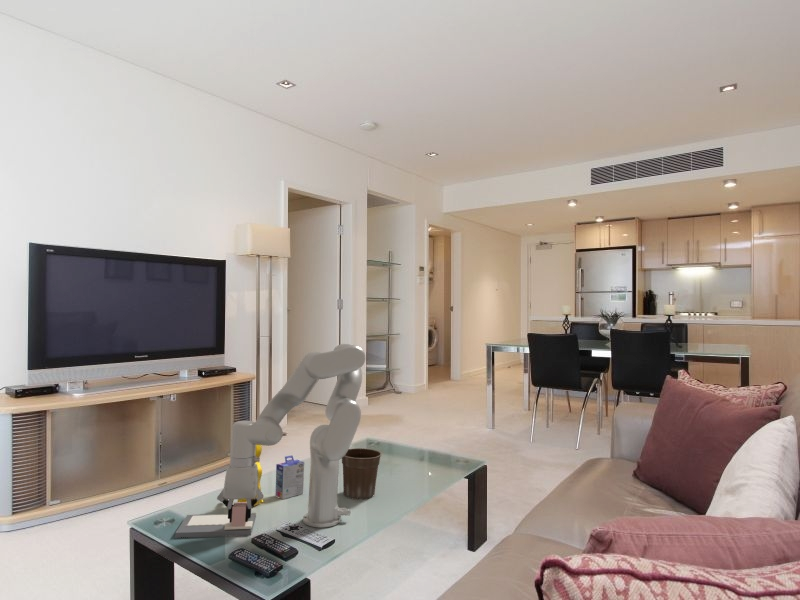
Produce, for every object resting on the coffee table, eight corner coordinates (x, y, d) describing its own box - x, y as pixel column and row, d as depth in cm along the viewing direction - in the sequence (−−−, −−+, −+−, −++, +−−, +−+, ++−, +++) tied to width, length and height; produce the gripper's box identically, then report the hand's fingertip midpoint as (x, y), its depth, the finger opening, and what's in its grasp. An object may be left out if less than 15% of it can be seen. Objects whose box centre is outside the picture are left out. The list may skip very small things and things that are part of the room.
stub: (252, 523, 156) (254, 501, 156) (251, 528, 152) (252, 506, 152) (226, 524, 154) (227, 502, 155) (224, 529, 150) (225, 507, 151)
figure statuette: (222, 503, 177) (226, 441, 178) (239, 497, 184) (242, 437, 185) (257, 514, 168) (261, 449, 169) (274, 507, 175) (277, 445, 176)
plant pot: (353, 485, 203) (355, 445, 204) (387, 492, 195) (389, 451, 196) (330, 496, 189) (332, 453, 190) (365, 504, 181) (367, 460, 182)
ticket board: (255, 517, 165) (256, 512, 165) (250, 535, 151) (251, 529, 151) (186, 519, 161) (187, 514, 161) (175, 537, 147) (175, 532, 147)
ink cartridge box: (295, 490, 194) (297, 453, 195) (303, 494, 190) (305, 456, 191) (274, 495, 187) (276, 457, 187) (282, 499, 183) (284, 460, 184)
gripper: (270, 457, 159) (267, 515, 158) (217, 458, 156) (213, 516, 155) (268, 464, 152) (265, 524, 151) (212, 464, 149) (208, 526, 148)
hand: (239, 520), depth 153 cm, fingers closed on stub, 4 cm apart
